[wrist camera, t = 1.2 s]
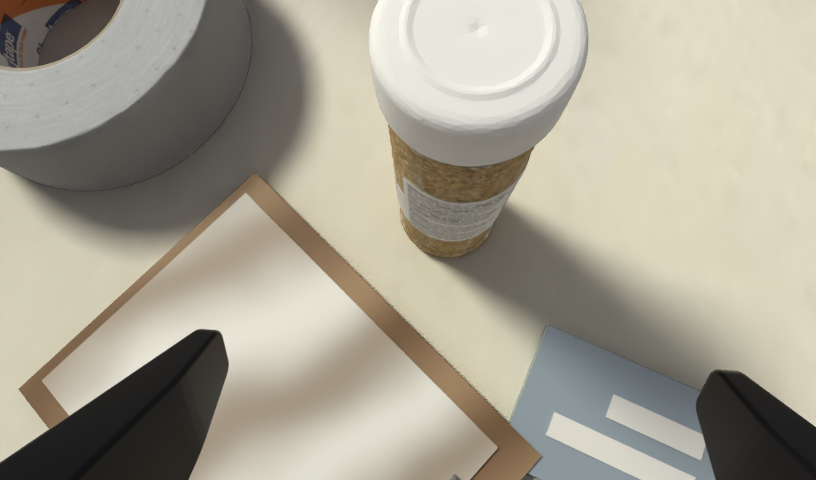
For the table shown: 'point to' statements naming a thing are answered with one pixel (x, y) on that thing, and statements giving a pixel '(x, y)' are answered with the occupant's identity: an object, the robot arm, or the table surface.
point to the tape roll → (118, 89)
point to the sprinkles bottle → (469, 104)
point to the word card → (606, 417)
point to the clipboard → (290, 360)
